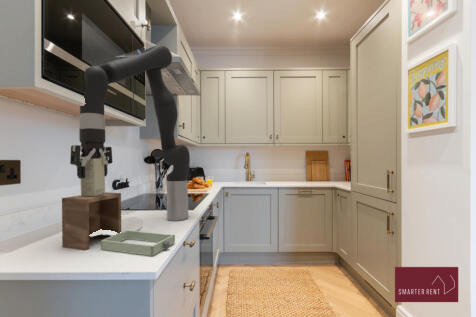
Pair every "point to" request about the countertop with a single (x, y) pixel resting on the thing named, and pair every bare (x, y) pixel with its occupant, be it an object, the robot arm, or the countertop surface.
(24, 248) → the countertop surface
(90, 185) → the skincare box
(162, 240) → the sliding drawer
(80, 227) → the walnut shelf
